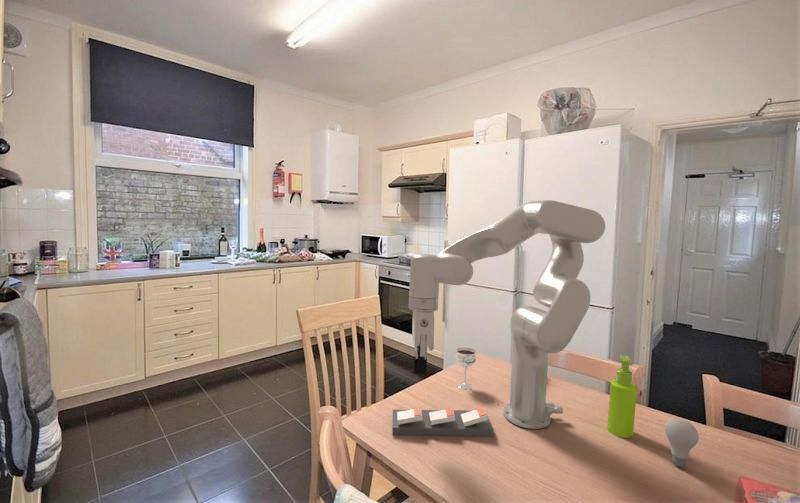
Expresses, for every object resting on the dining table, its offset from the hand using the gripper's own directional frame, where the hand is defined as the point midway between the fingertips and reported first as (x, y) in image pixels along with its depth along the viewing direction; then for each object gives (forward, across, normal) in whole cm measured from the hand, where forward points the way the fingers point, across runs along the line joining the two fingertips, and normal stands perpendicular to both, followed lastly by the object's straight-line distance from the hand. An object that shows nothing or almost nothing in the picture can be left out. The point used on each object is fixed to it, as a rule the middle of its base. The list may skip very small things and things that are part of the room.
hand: (419, 372), depth 95 cm
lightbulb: (+15, -13, -60) cm, 63 cm away
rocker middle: (+12, 0, -6) cm, 14 cm away
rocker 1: (+12, 0, +2) cm, 12 cm away
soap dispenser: (+15, +1, -55) cm, 57 cm away
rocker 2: (+12, 0, -15) cm, 19 cm away
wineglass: (+15, +26, -18) cm, 35 cm away
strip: (+16, +2, -7) cm, 17 cm away
